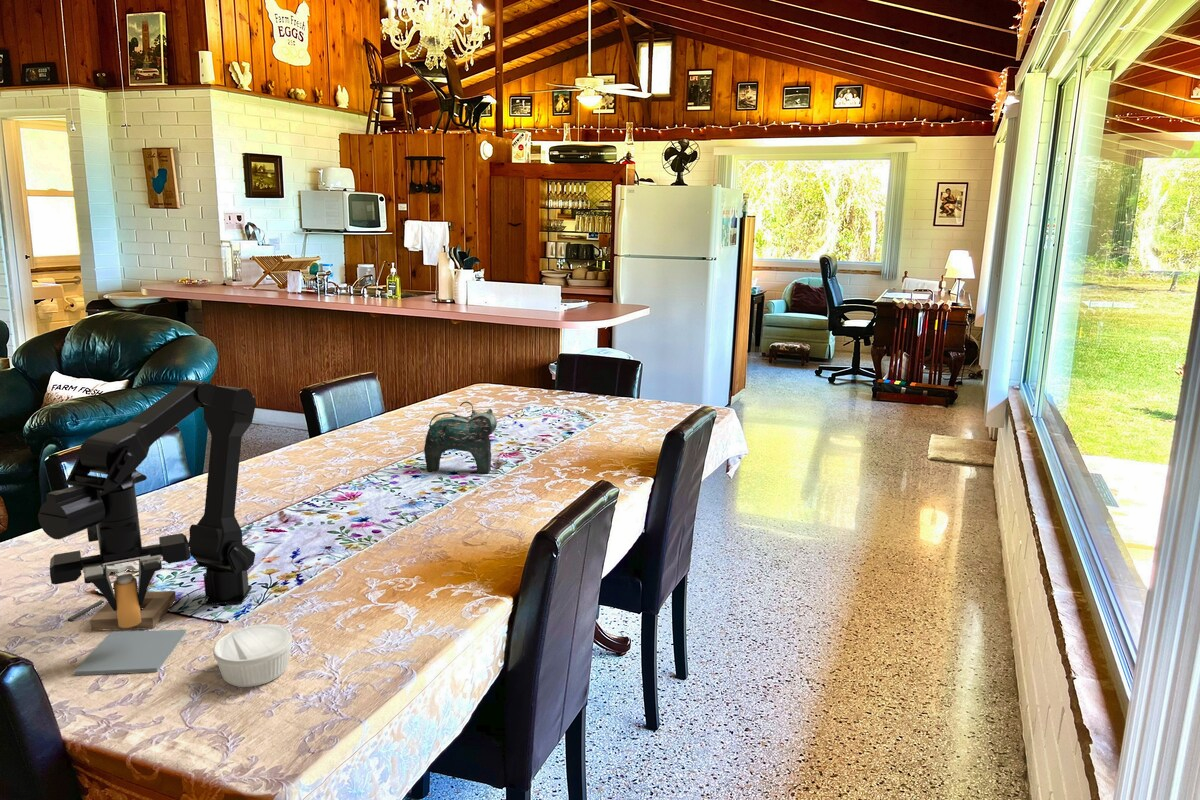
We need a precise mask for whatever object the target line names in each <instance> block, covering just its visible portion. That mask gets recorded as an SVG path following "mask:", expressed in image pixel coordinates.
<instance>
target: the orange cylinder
mask: <svg viewBox="0 0 1200 800" xmlns="http://www.w3.org/2000/svg"><path fill="white" fill-rule="evenodd" d="M115 579H116V580H115V581H113V583H112V585H113V592H114V595H115V601H116V608H117V618H118V626H119V627H121V628H129V627H133V626H136V625H138V624H139V623H141V613H140V611H141V609H140V605H139V597H138V587H137V584H138V580H137V577H136V578H134V577H133V574H131V573H125V574H123V575H120V576H116V578H115Z"/></svg>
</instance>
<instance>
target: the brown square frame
mask: <svg viewBox="0 0 1200 800" xmlns="http://www.w3.org/2000/svg"><path fill="white" fill-rule="evenodd" d="M114 596H115V594H114ZM176 596H177V595H176V590H160V591H159V590H158V591H146V594H145V598H144V601H143V604H142V605H141V606H140V608H141V609H140V613H141V623H139V624H138V625H136V626H133V627H129V628H121V627H119V626H118V618H117V610H116V611H114V610H113V609H112V607H111V606H110V604H109V603H108V601H107V602H105V603H104V605H103V606H102V607H101V608H100V609H99V610H98V611H97V612H96V613H95V614H94V615H93V616H92V617H91V618H90V619H89V623H90V631H104V630H103V629H117V630H137V628H139V629H140V628H144V629H154V628H155V627H156V626H157V625H158V624H159V622H160V621H161V620H162V618H164V617H165V615H166V614H167V612H169V610H170V609H171V608H170V606H171V605H172V604H173V602H174V601H175V600H176V601H177V597H176ZM173 605H174V604H173ZM173 605H172V606H173ZM172 606H171V607H172ZM142 608H144V609H142ZM169 608H170V609H169ZM168 609H169V610H168ZM156 624H157V625H156ZM139 629H138V630H139ZM140 630H141V629H140Z"/></svg>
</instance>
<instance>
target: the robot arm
mask: <svg viewBox="0 0 1200 800" xmlns="http://www.w3.org/2000/svg"><path fill="white" fill-rule="evenodd" d="M256 404H257V403H256V397H255V396H254V394H253V393H252V391H251V390H250V389H247V388H242V387H233V386H225V385H214V384H211V383H208V382H206V381H205V380H196V379H195V380H193V379H184V380H182V381H179V382H178V383H177V384H176V386H175V388H173V389H172V390H170V391H169V392H168V393H166V394H165V395H163V396H162V397H160V398H159V399H158V400H156V401H155V402H154V403H153V404H151V405H150V406H149V407H147V408H145V409H144V410H143V411H142V412H140V413H139V414H137V415H136V416H135V417H133V418H132V419H131V420H129V421H127V422H126V423H124V424H121V425H117V426H113V427H109V428H107V429H104V430H102V431H99V432H98V433H95V434H93V435H92V436H90V437H88V438H87V439H85V440H84V441H83V442H82V444H81V445H80V452H79V454H78V457H77V459H76V461H75V462H74V464H73V467H72V469H71V471H70V473H69V475H68V476H67V479H66V481H65V484H66V485H67V486H68V487H66V488H63V489H60V490H53V491H51V492H48V493H46V495H45V497H46V501H45V502H44V503H42V504H41V506H40V508H39V513H38V514H37V519H38V523H39V525H40V527H41V529H42V530H43V532H44V533H45V534H46V536H48V537H50V538H52V539H53V540H62V539H64V538H66V537H69V536H71V535H75V534H77V533H80V532H82V531H85V530H87V539H88V542H89V543H91V542H97V541H98V549H99V554H94V555H89V556H88V555H87V556H83V557H82V555H81V554H82V553H81V550H79V549H78V550H75V551H68V552H62V553H56V554H54V555H53V556H52V557H51V558H50V561H49V576H50V583H51V585H60V584H65V583H71V582H76V581H78V580H79V578H80V577H81V576H82V574H83V575H84V577H83V579H84V581H83V582H84V583H85V584H93V585H94V586H95V587H96V589H97V590H99V592H100V593H102V595H103V596H104V598H105V600H106V601H107V602H108V603H109V604H110V606H111V607H112V609H113V610H114V611H116V610H117V608H116V601H115V596H114V595H115V593H114V588H113V586H112V585H113V584H112V582H111V580H110V576H109V575H108V571H107V567H106V566H108V565H114V564H120V563H122V564H126V563H129V562H131V563H132V562H136V561H138V567H139V572H138V582H137V584H138V597H139V605H140V606H141V605H142V604H143V601H144V598H145V594H146V592H148V590H147V588H148V587H149V585H150V583H151V580H152V579H153V577H154V574H155V572H157V571H160V570H163V569H162V565H163V564H162V561H164V562H165V563H167V564H168V565H169V564H170V565H171V564H173V563H175V564H176V563H179V562H185V561H188V560H190V559H191V557H192V559H194V560H195V561H196V564H197V566H198V567H199V568H206V569H205V573H206V574H205V575H204V576H203V584H204V585H203V586H204V593H205V594H204V595H205V598H206V600H205V601H204V602H205V604H204V605H231V604H236V605H237V604H242V603H244V601H245V599H246V598H247V596H248V595H249V594H250V592H251V590H252V588H253V587H252V585H249V575H248V570H250V567H251V566H253V565H255V564H254V563H255V558H256V552H254V551H253V550H252V549H250V548H249V547H247V546H245V545H244V544H243V531H242V528H241V527H240V524H239V522H238V519H237V518H236V515H235V513H236V511H235V510H236V501H237V490H238V479H239V467H240V457H241V449H242V448H241V447H242V439H243V436H244V434H245V433H246V432H247V430H249V428H250V426H251V425H252V423H253V419H254V414H255V411H256V406H257V405H256ZM199 408H201V409H202V411H203V420H204V422H205V424H206V426H207V429H208V431H209V433H210V437H211V438H210V448H209V450H210V451H209V459H208V467H207V468H208V471H207V479H206V480H207V481H206V492H205V503H204V513H203V515H202V516H201V518H200V520H199V521H198V522H197V524H193V523H192V524H191V525H190V527H189V531H188V532H189V538H187V535H185V534H184V533H182V532H181V533H176V534H175V533H174V534H170V535H162V536H159V537H158V540H159V543H158V544H151V545H145V546H143V543H142V537H141V528H140V519H139V509H138V503H137V492H136V484H138V483H141V482H144V481H146V480H148V479H147V475H145V474H143V473H141V472H140V471H138V470H137V468H138V467H139V466H140V465H141V464H142V463H144V461H145V460H146V458H147V457H148V454H149V451H150V447H151V446H152V445H154V443H155V442H156V441H157V440H159V439H160V438H162V437H163V436H164V435H165V434H167V433H168V432H169V431H170V430H172V429H173V428H175V427H176V426H177V425H178V424H179V423H181V422H182V421H183V420H184V419H186V418H188V416H190V415H191V414H193V413H194V412H195V411H196V410H198V409H199ZM90 473H96V474H101V475H106V477H103V476H96V475H91V474H90ZM161 559H162V560H161Z"/></svg>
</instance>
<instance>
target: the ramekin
mask: <svg viewBox="0 0 1200 800" xmlns="http://www.w3.org/2000/svg"><path fill="white" fill-rule="evenodd" d="M292 644H293V634H292V632H291V631H290V630H289V629H288V628H287V627H285V626H283V625H279V624H272V623H271V624H270V623H269V624H267V623H264V624H263V623H260V624H254V625H253V624H252V625H249V626H245V627H241V628H238V629H234V630H233V631H231V632H229V633H226V634H225V635H224V636H222V637H221V638H220V639H219V640H217V642H216V643H215V644H214V647H213V651H212V652H213V653H212V654H213V656H214V659H215V660H216V662H217V666H218V668H219V671H220V674H221V677H222V679H223V680H224V681H225V682H226V683H228V684H230V685H231V686H234V687H239V688H249V687H250V688H251V687H256V686H260V685H264V684H267V683H270V682H273V681H274V680H276V679H277V678H279V677H280V676H281V675H282V674H283V673H284V672H285V671H286V669H287V667H288V666H289V662H290V656H291V648H292V647H291V646H292Z"/></svg>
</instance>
